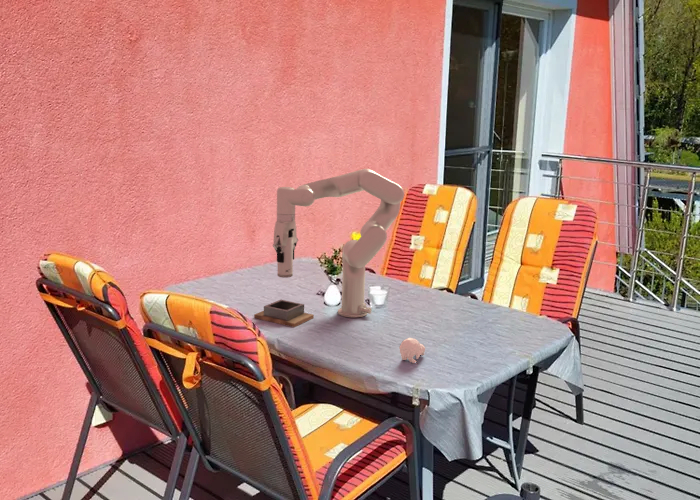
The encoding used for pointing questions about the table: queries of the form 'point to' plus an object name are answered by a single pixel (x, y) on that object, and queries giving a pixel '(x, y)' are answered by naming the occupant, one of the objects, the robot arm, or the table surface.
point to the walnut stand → (292, 322)
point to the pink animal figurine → (411, 349)
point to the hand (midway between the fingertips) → (285, 260)
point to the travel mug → (287, 258)
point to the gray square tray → (283, 310)
